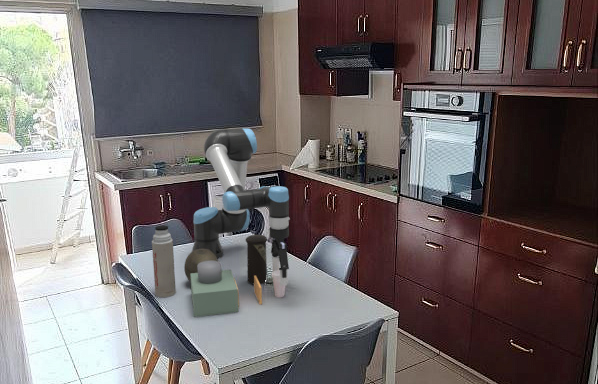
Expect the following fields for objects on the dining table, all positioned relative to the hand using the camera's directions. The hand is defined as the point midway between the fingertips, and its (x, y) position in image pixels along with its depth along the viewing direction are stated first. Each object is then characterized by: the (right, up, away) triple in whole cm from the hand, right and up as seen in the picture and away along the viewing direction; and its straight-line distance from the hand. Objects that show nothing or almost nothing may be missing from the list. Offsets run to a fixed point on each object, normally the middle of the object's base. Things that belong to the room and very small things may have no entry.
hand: (279, 278), depth 194 cm
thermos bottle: (-46, -7, +4) cm, 47 cm away
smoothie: (0, -7, +2) cm, 8 cm away
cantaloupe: (-33, -5, +13) cm, 36 cm away
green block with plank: (-21, -8, -4) cm, 23 cm away
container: (-10, -4, +16) cm, 20 cm away
